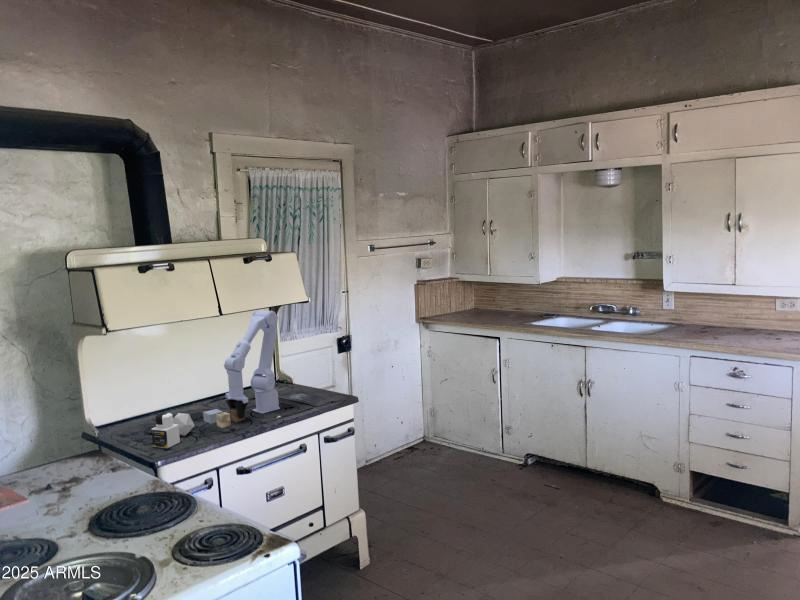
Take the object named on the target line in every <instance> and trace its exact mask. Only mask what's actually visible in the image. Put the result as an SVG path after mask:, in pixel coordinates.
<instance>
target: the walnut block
mask: <svg viewBox="0 0 800 600" xmlns="http://www.w3.org/2000/svg"><path fill="white" fill-rule="evenodd" d="M230 418H231V421H232V422H235V423H239V422H243V421H246V415H244V418H241V419H239V417H238V412H237V408H233V409H231V410H230ZM242 420H243V421H242ZM238 421H239V422H238Z"/></svg>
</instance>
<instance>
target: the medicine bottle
mask: <svg viewBox="0 0 800 600" xmlns="http://www.w3.org/2000/svg"><path fill="white" fill-rule="evenodd" d="M173 416H174V415H173V414H172V413H171V412H161V413H158V414H156V415H155V427H153V428H151V443H152V447H153V448H162V449H169V448H172V447H174V446H175V445H177V444H179V443H181V438H180V436H181V435H179V425H178V424H173V418H174V417H173Z"/></svg>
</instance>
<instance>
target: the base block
mask: <svg viewBox="0 0 800 600" xmlns="http://www.w3.org/2000/svg"><path fill="white" fill-rule="evenodd" d="M223 412H224V411H223V410H220V409H218V408H215V409H211V410H206V411H202V416H203V421H204V422H205V423H208V424H211V425H212V424H217V420H216V414H220V413H223Z"/></svg>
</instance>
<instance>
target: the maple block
mask: <svg viewBox="0 0 800 600" xmlns="http://www.w3.org/2000/svg"><path fill="white" fill-rule="evenodd" d="M216 420H217V422H216V427H218V428H221V429H223V428H227V427H231V426H232V425H231V424H232V423H231V413H229V412H225V411H223V413H220V414H216Z"/></svg>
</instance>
